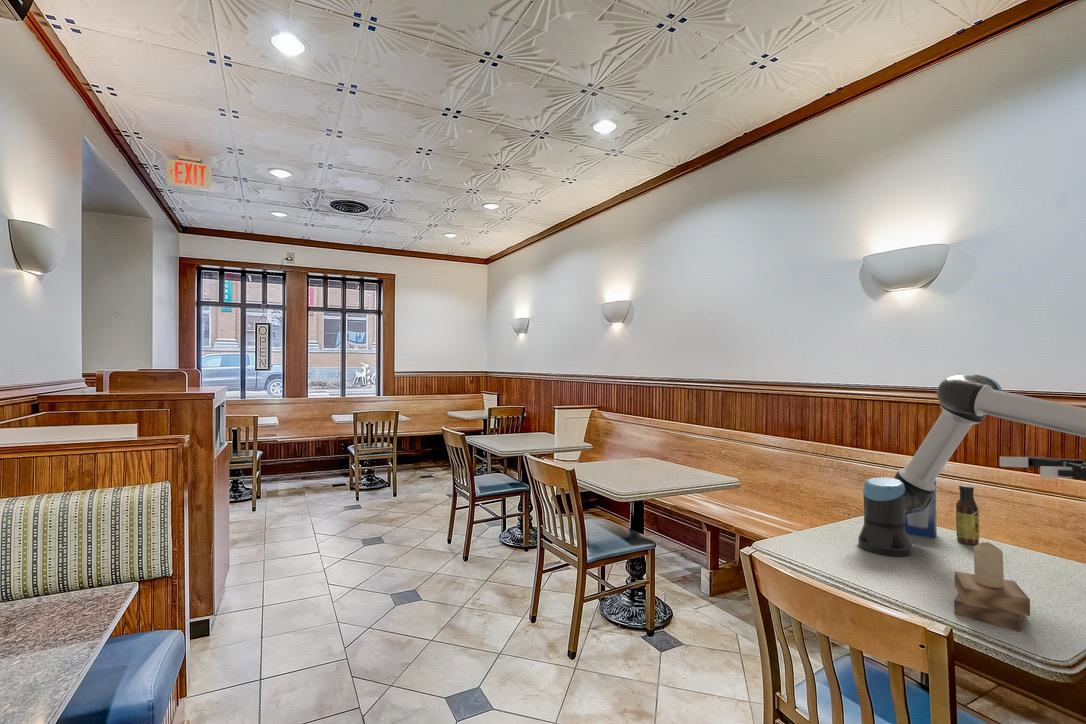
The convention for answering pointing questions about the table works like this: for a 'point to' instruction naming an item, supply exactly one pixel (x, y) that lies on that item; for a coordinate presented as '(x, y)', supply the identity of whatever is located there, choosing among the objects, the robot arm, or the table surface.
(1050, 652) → the table surface
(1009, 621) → the tower base
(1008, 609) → the tower top
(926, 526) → the milk carton
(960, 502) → the sauce bottle
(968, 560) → the table surface
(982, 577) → the candle
